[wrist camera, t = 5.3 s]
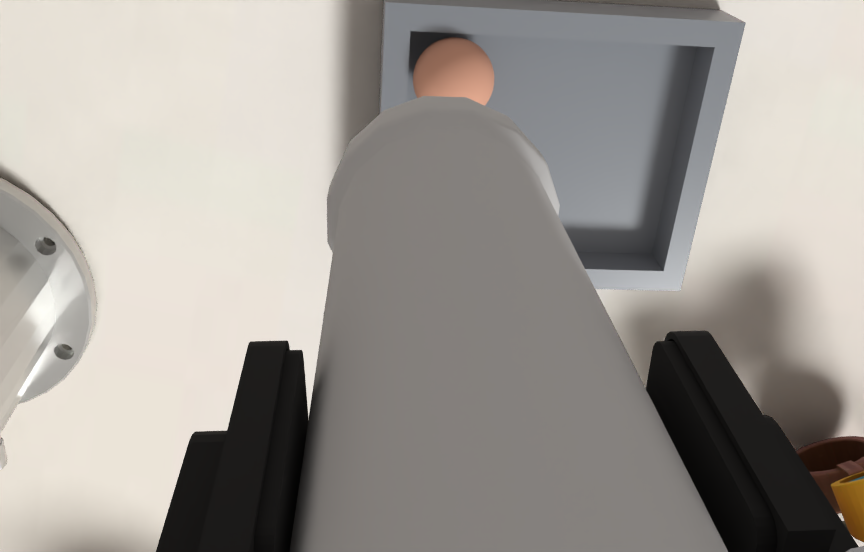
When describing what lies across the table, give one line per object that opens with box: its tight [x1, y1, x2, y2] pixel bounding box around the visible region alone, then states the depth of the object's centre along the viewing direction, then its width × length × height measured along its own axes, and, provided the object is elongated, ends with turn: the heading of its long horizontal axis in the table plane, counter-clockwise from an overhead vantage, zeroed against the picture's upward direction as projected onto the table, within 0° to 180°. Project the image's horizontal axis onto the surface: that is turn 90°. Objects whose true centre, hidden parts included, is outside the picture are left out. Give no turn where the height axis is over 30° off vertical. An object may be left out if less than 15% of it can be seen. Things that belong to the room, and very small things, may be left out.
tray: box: [379, 0, 745, 291], centre depth 35 cm, size 12×14×2 cm
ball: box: [413, 37, 494, 106], centre depth 32 cm, size 3×3×3 cm
